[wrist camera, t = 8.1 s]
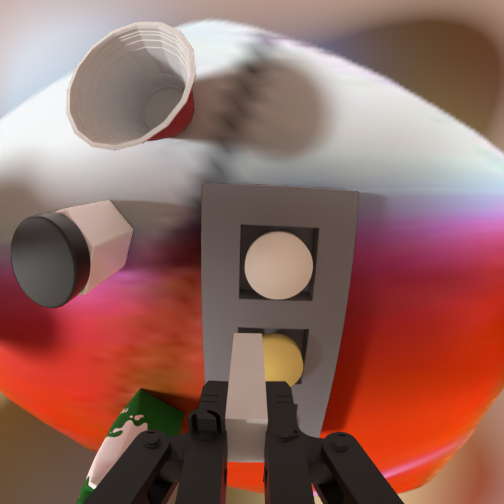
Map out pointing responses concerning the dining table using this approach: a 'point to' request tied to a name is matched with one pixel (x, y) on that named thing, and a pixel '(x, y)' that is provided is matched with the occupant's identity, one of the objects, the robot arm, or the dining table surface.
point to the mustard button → (281, 358)
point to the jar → (69, 251)
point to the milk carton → (131, 434)
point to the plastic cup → (133, 87)
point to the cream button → (278, 264)
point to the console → (282, 310)
